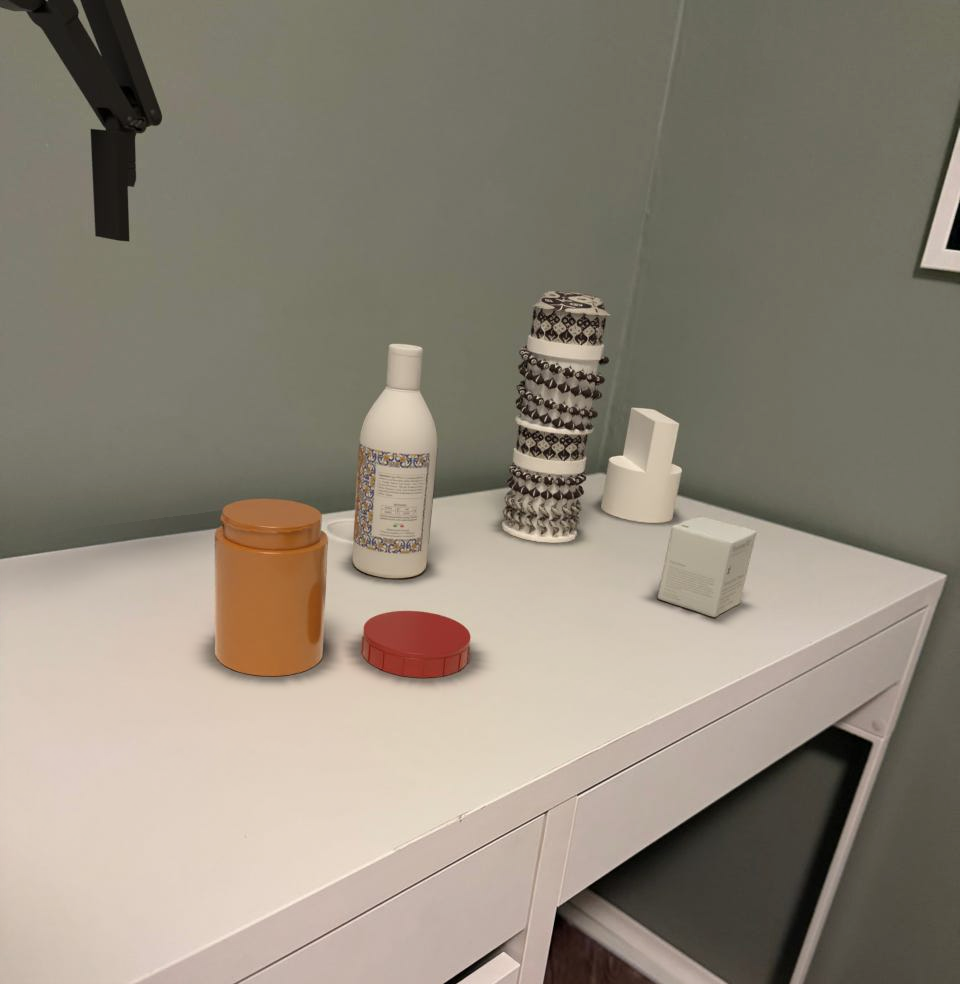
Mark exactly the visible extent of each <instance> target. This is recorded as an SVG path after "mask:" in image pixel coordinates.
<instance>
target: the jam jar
mask: <svg viewBox="0 0 960 984" xmlns="http://www.w3.org/2000/svg"><path fill="white" fill-rule="evenodd" d="M220 515H221V516H220V519H219V520H220V522H221V524H222V525H220V526H219V527H218V528H216V530H215V532H214V654H215V657H216V659H217V661H218V662H219V663H220V664H222V665H223V666H224V667H226V668H228V669H230V670H233V671H235V672H238V673H242V674H246V675H252V676H259V677H280V676H289V675H296V674H299V673H302V672H306V671H309V670H310V669H312V668H314V667H316V666H317V665H318V664H319V663H320V662H321V660H322V658H323V655H324V635H325V634H324V633H325V617H326V616H325V614H326V592H327V573H328V554H329V553H328V550H329V536H328V535H327V533H326V532H325V531H323V530H322V526H323V525H322V524H323V523H322V522H323V514H322V513H321V511H319V509H317V508H315V507H313V506H311V505H309V504H306V503H303V502H298V501H294V500H287V499H281V498H280V499H279V498H250V499H242V500H237V501H233V502H231V503H228V504H226V505H225V506H224V507H223V508H222V513H221V514H220Z"/></svg>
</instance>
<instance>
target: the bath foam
mask: <svg viewBox="0 0 960 984" xmlns="http://www.w3.org/2000/svg"><path fill="white" fill-rule="evenodd" d="M423 354H424V349H423V348H422V346H418V345H412V344H405V343H391V344H389V345H388V352H387V367H386V386H385V388H384V390H383V391H382V392H381V394H379V396H378V397H377V399H376V400H375V402H373V404H372V406H371V407H370V409H369V411H368V412H367V414H366V415H365V418H364V420H363V423H362V426H361V430H360V435H359V439H358V454H357V455H358V456H357V471H356V486H355V505H354V519H353V520H354V521H353V537H352V538H353V539H352V540H353V541H352V542H353V543H352V563H353V565H354V567H355V568H356V569H358V571H361V572H363V573H365V574H367V575H371V576H374V577H379V578H386V579H405V578H411V577H415V576H418V575H420V574H422V573H423V572H424V571H425V570H426V568H427V563H428V552H429V545H430V535H431V524H432V514H433V504H434V494H435V482H436V471H437V460H438V451H439V448H438V433H437V428H436V423H435V421H434V418H433V416H432V413H431V411H430V409H429V406H428V405H427V403H426V401H425V398H424V397H423V396H422V395H423V394H422V393H421V390H420V388H421V387H420V386H421V377H422V369H423V368H422V367H423V366H422V365H423Z"/></svg>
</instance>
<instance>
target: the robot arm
mask: <svg viewBox="0 0 960 984" xmlns="http://www.w3.org/2000/svg"><path fill="white" fill-rule="evenodd" d="M79 1H80V5H81V7H82V9H83V12H84V15H85V17H86V19H87V22H88V24H89V28H90V30H91V33H92V35H93V38H94V40H95V42H96V44H95V43H94V41H93V39H92V38H91V37H90V35H89V33H88V31H87V30H86V28H85V26H84V24H83V23H82V21H81V19H80V18H79V13H80V12H79V8H78V5H77V4H76V3H75V1H74V0H0V8H1V9H3V10H8V11H11V12H26V15H28V17H29V19H30V20H31V21H32V23H34V24H35V25H36V26H37V27H39V28H40V29H41V31H43V34H44V35H45V36H46V38H47V40H48V41H49V43H50V44H51V46H52V47H53V49H54V50H55V52H56V54H57V55H58V57H59V59H60V60H61V62H62V63H63V65H64V67H65V68H66V69H67V71H68V73H69V74H70V76H71V78H72V79H73V81H74V82H75V84H76V85H77V87H78V89H79V90H80V92H81V94H82V95H83V97H84V98H85V100H86V101H87V103H88V104H89V106H90V108H91V109H92V111H93V112H94V115H95V116H96V117H97V119H98V121H99V122H100V124H101V125H102V127H103V128H104V129H96V128H90V148H91V150H90V151H91V168H92V170H91V173H92V190H93V191H92V193H93V217H94V236H95V237H97V238H102V239H108V240H114V241H119V242H130V216H129V215H130V214H129V213H130V212H129V211H130V210H129V187H130V188H131V187H132V188H134V187H135V184H136V181H137V170H136V169H137V164H136V162H137V158H136V155H137V154H136V153H137V152H136V136H137V134H143V133H145V131H146V130H147V128H148V127H157V126H159V125H161V123H162V121H163V114H162V110H161V108H160V105H159V102H158V99H157V96H156V94H155V93H156V92H155V91H154V88H153V86H152V85H153V84H152V83H151V80H150V77H149V75H148V71H147V68H146V66H145V63H144V61H143V57H142V54H141V52H140V49H139V46H138V43H137V41H136V38H135V35H134V32H133V30H132V27H131V24H130V22H129V19H128V16H127V13H126V10H125V7H124V5H123V2H122V0H79Z"/></svg>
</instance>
